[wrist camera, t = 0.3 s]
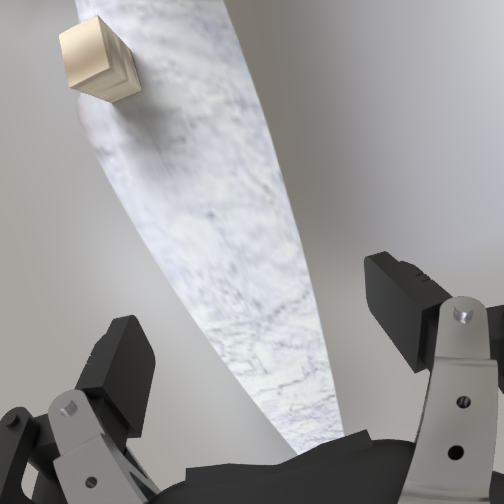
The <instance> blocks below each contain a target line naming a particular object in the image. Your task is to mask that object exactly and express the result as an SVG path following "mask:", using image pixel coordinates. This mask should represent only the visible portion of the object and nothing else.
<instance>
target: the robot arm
mask: <svg viewBox="0 0 504 504" xmlns="http://www.w3.org/2000/svg"><path fill="white" fill-rule="evenodd" d="M364 269H365V270H364V271H365V283H366V284H365V285H366V299H367V303H368V307H369V309H370V311H371V313H372V314H373V316H374V317H375V319H376V320H377V321H378V323H379V324H380V325H381V327H382V328H383V329H384V331H385V332H386V333H387V335H388V336H389V337H390V339H391V340H392V342H393V343H394V345H395V346H396V347H397V349H398V350H399V351H400V353H401V354H402V356H403V357H404V359H405V360H406V361H407V363H408V364H409V366H410V367H411V368H412V370H413V371H414V373H417V372H420V371H422V370H424V369H426V368H427V369H428V370H429V371H430V377H429V382H428V387H427V393H426V397H425V402H424V406H423V411H422V415H421V419H420V423H419V427H418V431H417V434H416V438H415V441H414V443H413V442H409V441H404V440H394V439H382V440H371V439H370V436H369V434H368V432H367V430H363V431H360V432H357V433H354V434H351V435H348V436H345V437H342V438H339V439H336V440H332V441H329V442H326V443H322V444H320V445H318V446H317V447H315V448H313V449H311V450H309V451H307V452H305V453H303V454H300V455H298V456H296V457H294V458H292V459H290V460H288V461H286V462H283V463H281V464H278V465H247V464H229V463H228V464H222V465H213V466H205V467H195V468H186V479H185V481H182V482H180V483H177V484H175V485H172V486H170V487H169V488H167V489H165V490H163V491H162V492H161V491H160V489H159V488H158V487H157V486H156V485H155V484H154V482H153V481H152V480H151V478H150V477H149V476H148V474H147V473H146V472H145V470H144V469H143V467H142V466H141V465H140V463H139V462H138V460H137V459H136V458H135V456H134V455H133V454H132V452H131V450H130V449H129V448H128V447H127V445H126V442H127V438H140V437H141V434H142V429H143V423H144V418H145V412H146V407H147V403H148V397H149V393H150V388H151V383H152V379H153V374H154V370H155V355H154V352H153V349H152V347H151V345H150V343H149V341H148V339H147V338H146V335H145V333H144V331H143V330H142V327H141V325H140V323H139V321H138V319H137V318H136V317H135V316H134V315H129V316H125V317H120V318H116V319H113V320H112V322H111V324H110V327H109V329H108V331H107V333H106V334H105V335H103V336H102V338H101V339H100V340H99V341H98V342H97V343H96V344H95V346H94V348H93V350H92V352H91V356H89V358H88V361H87V364H86V365H85V367H84V369H83V371H82V373H81V375H80V378H79V380H78V382H77V385H76V387H75V389H74V390H69V391H66V392H64V393H62V394H60V395H59V396H58V397H56V398H55V399H54V401H53V402H52V403H51V405H50V407H49V410H48V414H44V415H41V416H38V417H35V418H34V417H33V416H32V415H31V414H30V413H29V412H28V411H27V409H26V408H24V407H16V408H13V409H11V410H10V411H9V412H7V413H6V414H5V415H4V416H3V418H2V419H1V421H0V504H504V474H502V473H499V472H495V471H492V469H493V462H494V454H495V445H496V433H497V415H498V387H499V388H500V390H501V391H502V393H503V394H504V305H500V306H495V307H489V308H485V306H484V305H483V304H482V303H481V302H479V301H478V300H476V299H474V298H470V297H464V296H459V297H452V296H451V295H450V294H449V293H448V292H446V291H445V290H444V289H443V288H442V287H441V286H439V285H438V284H437V283H436V282H435V281H433V280H431V279H430V277H429V276H427V275H426V274H424V273H423V272H422V271H421V270H420V269H419V268H418V267H416V266H415V265H413V264H410V263H407V262H404V261H400V262H398V261H397V260H396V259H395V258H394V257H392V256H391V255H390V254H389V253H388V252H386V251H384V252H381V253H377V254H374V255H370V256H367V257H365V259H364ZM27 462H29V463H30V464H31V465H32V466H33V467H34V468H35V469H36V470H37V471H39V473H38V476H37V480H36V483H35V487H34V491H33V495H32V499H31V500H30V499H29V498H28V497H27V496H25V494H24V493H23V490H22V487H21V481H22V478H23V474H24V471H25V468H26V465H27Z"/></svg>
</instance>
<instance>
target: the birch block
mask: <svg viewBox="0 0 504 504" xmlns="http://www.w3.org/2000/svg"><path fill="white" fill-rule="evenodd" d="M59 38H60V44H61V49H62V55H63V60H64V64H65V69H66V74H67V79H68V83H69V87H70V88H72V89H75V90H78V91H80V92H83V93H86V94H89V95H91V96H94V97H97V98H99V99H102V100H105V101H107V102H110V103H114V102H116V101H118V100H120V99H123V98H125V97H127V96H130V95H132V94H135V93H137V92H139V91H142V89H141V86H140V82H139V79H138V75H137V72H136V68H135V65H134V61H133V57H132V54H131V50H130V49H129V48H128V47H127V45H126V44H125V43H124V42H123V41H122V40H121V39H120V38H119V37H118V36H117V35H116V34H115V33H114V32H113V31H112V30H111V29H110V28H109V26H108V25H107V24H106V23H105V22H104V21H103V20H102V19H101V18H100V17H99V16H98V15H96V16H94V17H92V18H90V19H88V20H86V21H84V22H82V23H80V24H78V25H76V26H74V27H73V28H70V29H69V30H67V31H65V32H63V33H62V34H60V35H59Z"/></svg>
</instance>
